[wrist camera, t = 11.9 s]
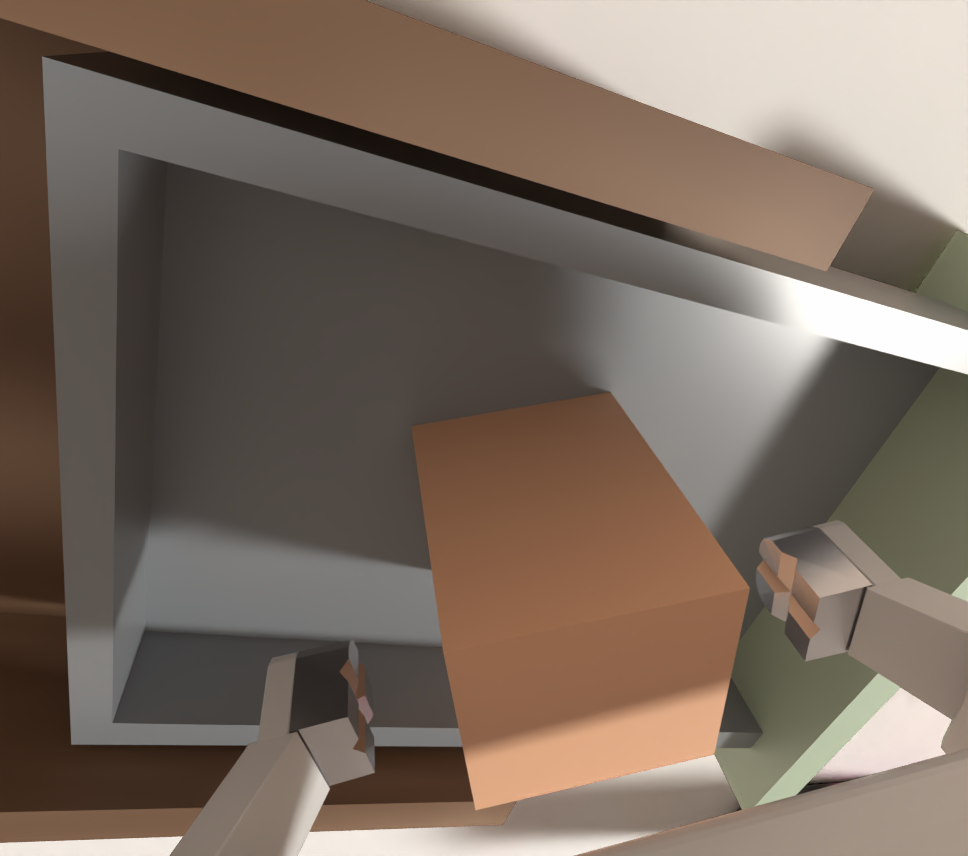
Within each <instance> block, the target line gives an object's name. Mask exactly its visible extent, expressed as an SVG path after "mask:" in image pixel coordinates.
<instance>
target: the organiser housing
mask: <svg viewBox="0 0 968 856" xmlns="http://www.w3.org/2000/svg"><path fill="white" fill-rule="evenodd" d="M107 51H110V52H113V53H116V54H120V55H123V56H126V57H129V58H133V59H136V60H139V61H142V62H146V63H149V64H152V65H155V66H159V67H162V68H165V69H168V70H172V71H175V72H178V73H181V74H185V75H188V76H191V77H194V78H198V79H201V80H204V81H208V82H211V83H214V84H217V85H221V86H224V87H227V88H230V89H234V90H237V91H240V92H243V93H247V94H250V95H253V96H256V97H260V98H263V99H266V100H269V101H273V102H276V103H279V104H282V105H286V106H289V107H292V108H296V109H299V110H302V111H305V112H309V113H312V114H315V115H318V116H322V117H325V118H328V119H331V120H335V121H338V122H341V123H344V124H348V125H351V126H354V127H357V128H361V129H364V130H367V131H370V132H374V133H377V134H380V135H384V136H387V137H390V138H393V139H397V140H400V141H403V142H406V143H410V144H413V145H416V146H419V147H423V148H426V149H429V150H432V151H436V152H439V153H442V154H445V155H449V156H452V157H455V158H458V159H462V160H465V161H468V162H472V163H475V164H478V165H481V166H485V167H488V168H491V169H494V170H498V171H501V172H504V173H507V174H511V175H514V176H517V177H520V178H524V179H527V180H530V181H533V182H537V183H540V184H543V185H546V186H550V187H553V188H556V189H559V190H563V191H566V192H569V193H573V194H576V195H579V196H582V197H586V198H589V199H592V200H595V201H599V202H602V203H605V204H608V205H612V206H615V207H618V208H621V209H625V210H628V211H631V212H634V213H638V214H641V215H644V216H647V217H651V218H654V219H657V220H661V221H664V222H667V223H670V224H674V225H677V226H680V227H683V228H687V229H690V230H693V231H696V232H700V233H703V234H706V235H709V236H713V237H716V238H719V239H722V240H726V241H729V242H732V243H735V244H739V245H742V246H745V247H749V248H752V249H755V250H758V251H762V252H765V253H768V254H771V255H775V256H778V257H781V258H784V259H788V260H791V261H794V262H797V263H801V264H804V265H807V266H810V267H814V268H817V269H820V270H823V271H827V270H828V268H829V267H830V265H831V263H832V261H833V260H834V258H835V256H836V255H837V253H838V251H839V249H840V248H841V246H842V244H843V243H844V241H845V239H846V237H847V236H848V234H849V232H850V231H851V229H852V227H853V226H854V224H855V222H856V220H857V219H858V217H859V215H860V214H861V212H862V210H863V208H864V207H865V205H866V203H867V202H868V200H869V198H870V196H871V195H872V193H873V191H874V190H875V189H873V188H870V187H868V186H865V185H862V184H859V183H857V182H854V181H851V180H849V179H846V178H843V177H841V176H838V175H835V174H832V173H830V172H827V171H824V170H822V169H819V168H816V167H814V166H811V165H808V164H805V163H803V162H800V161H797V160H795V159H792V158H789V157H786V156H784V155H781V154H778V153H776V152H773V151H770V150H768V149H765V148H762V147H759V146H757V145H754V144H751V143H749V142H746V141H743V140H741V139H738V138H735V137H732V136H730V135H727V134H724V133H722V132H719V131H716V130H714V129H711V128H708V127H705V126H703V125H700V124H697V123H695V122H692V121H689V120H687V119H684V118H681V117H678V116H676V115H673V114H670V113H668V112H665V111H662V110H659V109H657V108H654V107H651V106H649V105H646V104H643V103H641V102H638V101H635V100H632V99H630V98H627V97H624V96H622V95H619V94H616V93H614V92H611V91H608V90H605V89H603V88H600V87H597V86H595V85H592V84H589V83H587V82H584V81H581V80H578V79H576V78H573V77H570V76H568V75H565V74H562V73H560V72H557V71H554V70H551V69H549V68H546V67H543V66H541V65H538V64H535V63H532V62H530V61H527V60H524V59H522V58H519V57H516V56H514V55H511V54H508V53H505V52H503V51H500V50H497V49H495V48H492V47H489V46H487V45H484V44H481V43H478V42H476V41H473V40H470V39H468V38H465V37H462V36H460V35H457V34H454V33H451V32H449V31H446V30H443V29H441V28H438V27H435V26H432V25H430V24H427V23H424V22H422V21H419V20H416V19H414V18H411V17H408V16H405V15H403V14H400V13H397V12H395V11H392V10H389V9H387V8H384V7H381V6H378V5H376V4H373V3H370V2H368V1H365V0H0V843H7V842H35V841H63V840H92V839H120V838H148V837H176V836H184V835H185V833H186V832H187V831H188V829H189V828H190V826H191V825H192V824H193V822H194V821H195V819H196V818H197V816H198V815H199V814H200V812H201V811H202V809H203V808H204V807H205V805H206V804H207V802H208V801H209V800H210V798H211V797H212V795H213V794H214V793H215V791H216V790H217V788H218V787H219V786H220V784H221V783H222V781H223V780H224V779H225V777H226V776H227V774H228V773H229V772H230V770H231V769H232V767H233V766H234V764H235V763H236V762H237V760H238V759H239V757H240V756H241V755H242V753H243V752H244V750H245V749H246V748H247V746H248V745H71V725H70V701H69V678H68V654H67V631H66V607H65V584H64V560H63V536H62V513H61V489H60V466H59V442H58V419H57V395H56V372H55V348H54V325H53V301H52V278H51V254H50V231H49V207H48V184H47V160H46V137H45V113H44V90H43V66H42V56H53V55H67V54H80V53H94V52H107ZM374 752H375V773H372V774H369V775H365V776H362V777H359V778H355V779H352V780H348V781H345V782H341V783H338V784H334V785H331V786H329V788H330V790H329V792H328V794H327V796H326V798H325V800H324V802H323V804H322V806H321V808H320V810H319V813H318V815H317V817H316V819H315V821H314V823H313V825H312V827H311V829H310V831H309V832H318V831H346V830H374V829H403V828H431V827H459V826H487V825H503V824H504V822H505V820H506V818H507V817H508V815H509V813H510V812H511V810H512V808H513V806H514V805H515V803H516V801H513V802H509V803H505V804H501V805H496V806H492V807H488V808H484V809H479V810H475V805H474V800H473V795H472V790H471V786H470V781H469V776H468V771H467V766H466V761H465V756H464V751H463V747H430V746H374Z"/></svg>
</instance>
